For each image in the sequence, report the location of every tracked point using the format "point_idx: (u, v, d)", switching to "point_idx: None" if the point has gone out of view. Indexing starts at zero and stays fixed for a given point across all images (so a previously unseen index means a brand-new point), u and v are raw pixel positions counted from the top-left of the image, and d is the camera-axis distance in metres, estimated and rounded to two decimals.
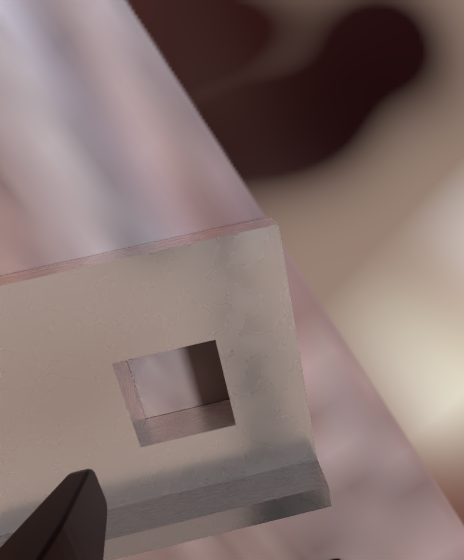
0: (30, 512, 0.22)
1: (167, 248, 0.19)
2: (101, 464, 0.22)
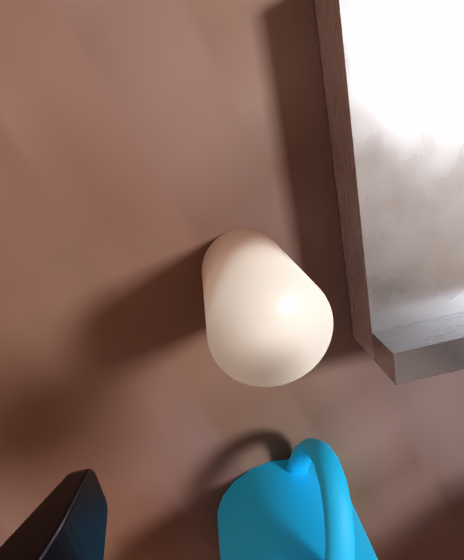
0: (434, 294, 0.17)
1: None
2: None
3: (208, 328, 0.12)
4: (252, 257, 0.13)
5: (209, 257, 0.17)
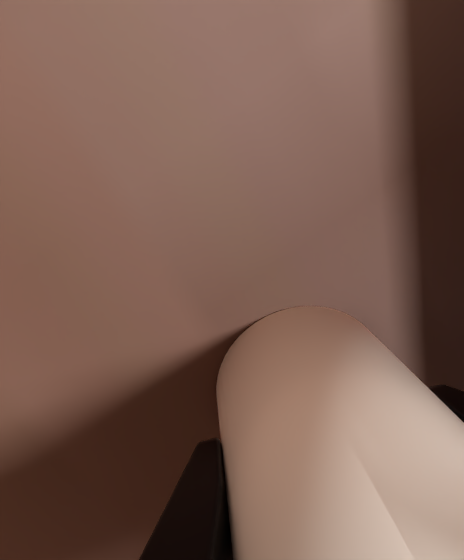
0: None
1: None
2: None
3: None
4: (442, 537, 0.03)
5: (239, 393, 0.07)
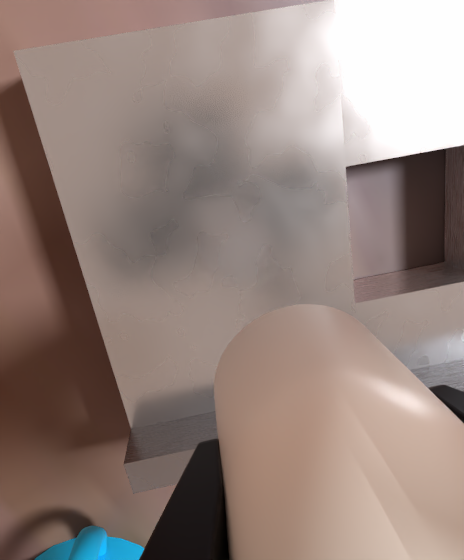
0: (194, 392, 0.16)
1: None
2: None
3: None
4: (437, 534, 0.03)
5: (236, 391, 0.07)
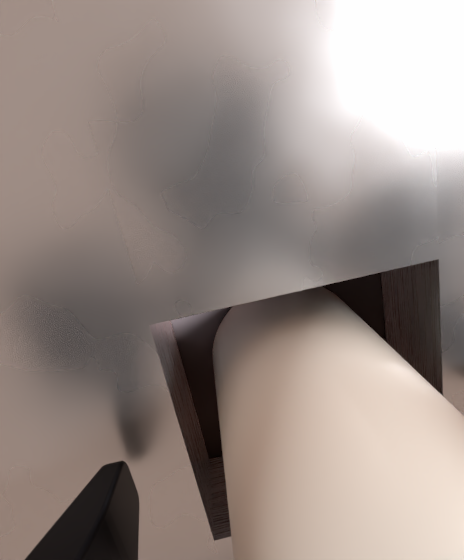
0: None
1: None
2: None
3: None
4: (369, 417, 0.05)
5: (231, 349, 0.08)
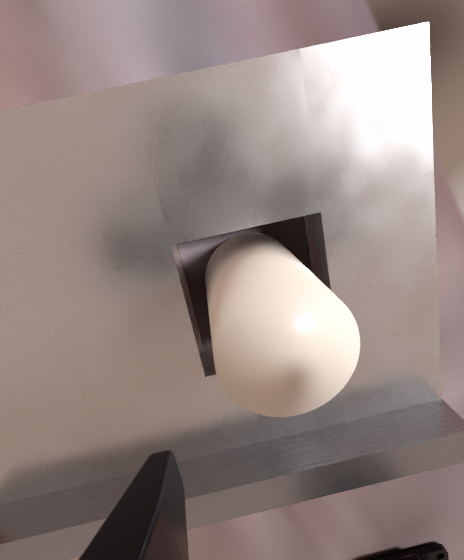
0: (48, 469, 0.16)
1: (261, 57, 0.12)
2: (150, 401, 0.15)
3: (215, 351, 0.10)
4: (266, 267, 0.11)
5: (214, 264, 0.15)
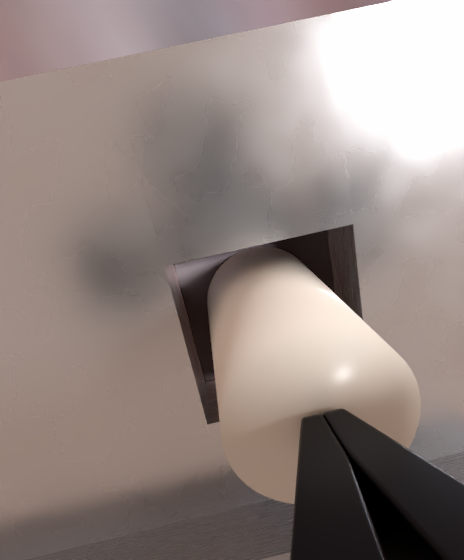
0: (17, 534, 0.13)
1: None
2: (140, 453, 0.13)
3: (223, 423, 0.07)
4: (289, 301, 0.09)
5: (219, 288, 0.12)
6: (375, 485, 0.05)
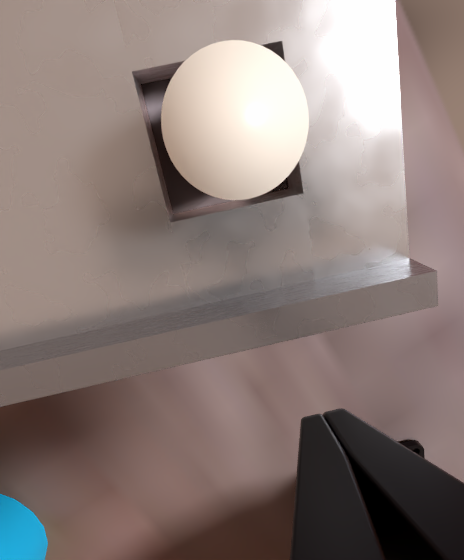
0: (15, 320, 0.16)
1: None
2: (115, 247, 0.16)
3: (162, 116, 0.10)
4: None
5: None
6: (375, 485, 0.05)
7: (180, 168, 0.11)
